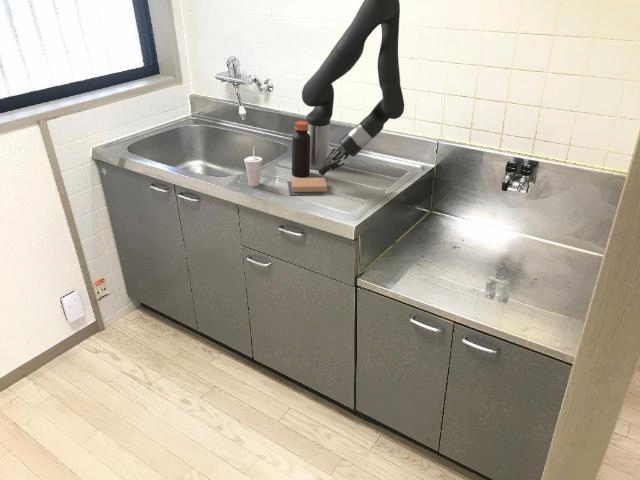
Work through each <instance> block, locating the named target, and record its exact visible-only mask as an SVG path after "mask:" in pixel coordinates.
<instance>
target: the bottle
mask: <svg viewBox="0 0 640 480" xmlns="http://www.w3.org/2000/svg"><path fill="white" fill-rule="evenodd" d="M294 131H295V132H294V133H293V134H292V136H291V139H292V140H291V148H292V149H291V175H292V176H294V177H295V178H307V177H308V176H310V171H311V168H310V140H311V137H310V135H309V134H308V133H307V131H308V122H306V121H302V120H299V121H295V122H294Z"/></svg>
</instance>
